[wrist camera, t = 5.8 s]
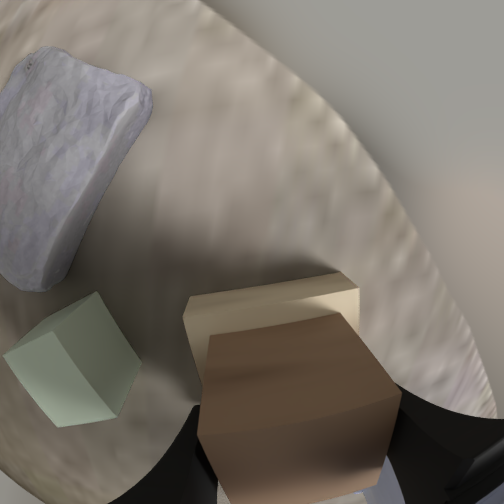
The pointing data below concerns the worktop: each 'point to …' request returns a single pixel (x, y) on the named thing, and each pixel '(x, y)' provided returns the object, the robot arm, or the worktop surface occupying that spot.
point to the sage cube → (76, 364)
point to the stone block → (59, 158)
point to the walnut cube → (295, 412)
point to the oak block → (267, 309)
